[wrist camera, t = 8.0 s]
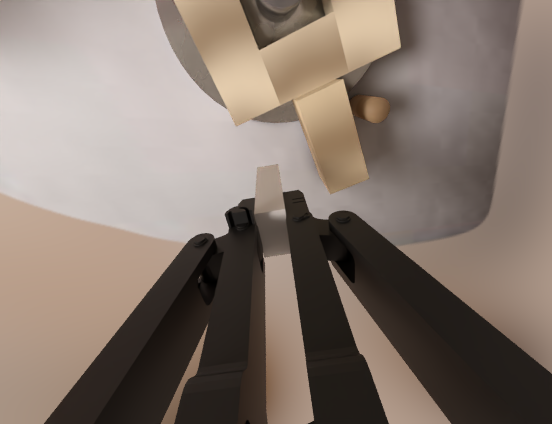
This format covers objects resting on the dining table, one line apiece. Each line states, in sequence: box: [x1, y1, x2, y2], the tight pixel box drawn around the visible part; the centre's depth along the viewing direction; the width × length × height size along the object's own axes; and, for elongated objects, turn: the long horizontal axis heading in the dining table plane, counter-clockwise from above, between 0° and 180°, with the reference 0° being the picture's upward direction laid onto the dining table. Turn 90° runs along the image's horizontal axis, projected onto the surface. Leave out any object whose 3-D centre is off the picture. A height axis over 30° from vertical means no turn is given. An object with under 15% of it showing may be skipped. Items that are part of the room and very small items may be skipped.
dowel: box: [349, 95, 390, 123], centre depth 18 cm, size 2×2×4 cm
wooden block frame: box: [174, 0, 401, 194], centre depth 15 cm, size 19×12×4 cm, turn 24°
